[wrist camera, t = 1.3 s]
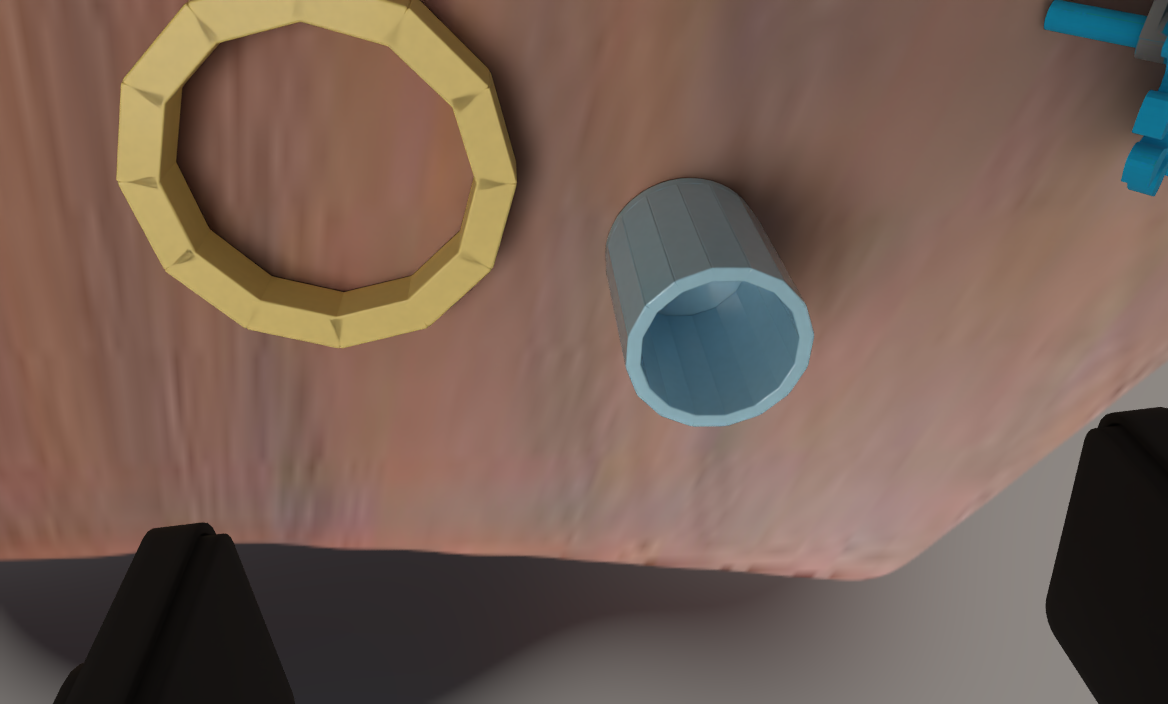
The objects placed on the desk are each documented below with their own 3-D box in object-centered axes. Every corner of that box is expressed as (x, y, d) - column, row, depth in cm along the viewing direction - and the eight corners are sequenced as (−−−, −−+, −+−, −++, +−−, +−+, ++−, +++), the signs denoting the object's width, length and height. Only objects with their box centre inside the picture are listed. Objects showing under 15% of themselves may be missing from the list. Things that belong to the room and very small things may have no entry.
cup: (572, 250, 37) (587, 352, 30) (694, 144, 35) (737, 230, 28) (672, 344, 39) (705, 456, 33) (790, 251, 37) (849, 351, 31)
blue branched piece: (1190, 192, 35) (1148, 216, 28) (1032, 149, 38) (956, 160, 31) (1338, -129, 31) (1336, -205, 23) (1146, -148, 34) (1090, -221, 26)
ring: (128, 275, 36) (109, 301, 34) (149, -85, 29) (127, -76, 28) (464, 348, 39) (463, 374, 37) (552, 34, 32) (555, 49, 30)
